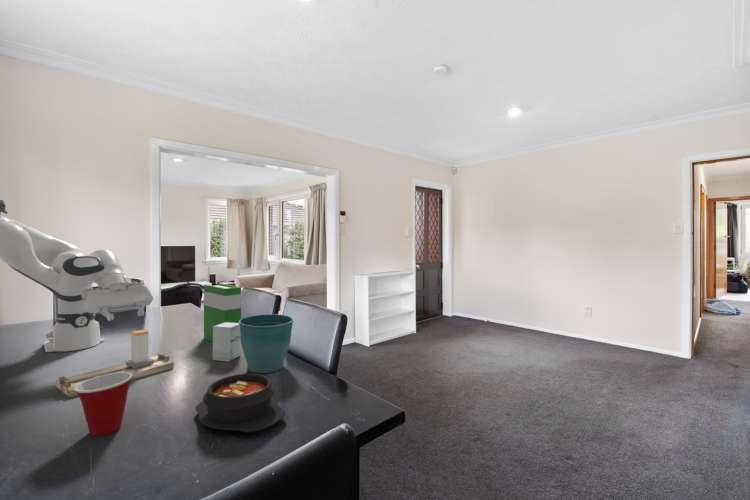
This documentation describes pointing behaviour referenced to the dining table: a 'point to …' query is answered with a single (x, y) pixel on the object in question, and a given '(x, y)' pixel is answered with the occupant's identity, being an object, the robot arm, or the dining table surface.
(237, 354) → the supplement box
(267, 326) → the flower pot
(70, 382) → the fader console
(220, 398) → the casserole
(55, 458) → the dining table surface
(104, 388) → the plastic cup
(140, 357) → the fader handle
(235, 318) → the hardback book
